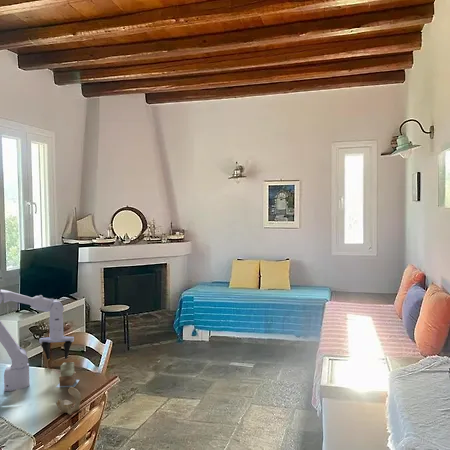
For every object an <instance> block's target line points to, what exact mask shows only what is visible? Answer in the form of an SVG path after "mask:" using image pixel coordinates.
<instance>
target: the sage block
mask: <svg viewBox="0 0 450 450" xmlns="http://www.w3.org/2000/svg"><path fill="white" fill-rule="evenodd" d="M74 372H75V362H74V361H73V362H72V361H70V362H63V363H62V364H61V365H60V375H61V377H62V376H72V375H73V374H74Z"/></svg>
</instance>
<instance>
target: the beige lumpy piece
mask: <svg viewBox="0 0 450 450" xmlns="http://www.w3.org/2000/svg"><path fill="white" fill-rule="evenodd" d="M67 391H68V394H69V395H70V396H73V398H74V401H75V403H74V402H72V401H71V400H68V399H64V400H62V398H59V399H58V400H57V402H56V406H57V407H58V409H59V410H60V411H61V413H67V414H68V415H69V416H71V415H72V414H73V413H74V412H77V411H78V410H80V407H81V405H80V404H81V399H82V398H81V397H82V393H81V392H80V391H79V390H78V388H75V387H68V389H67ZM71 406H72V407H71Z"/></svg>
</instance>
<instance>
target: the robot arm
mask: <svg viewBox="0 0 450 450" xmlns="http://www.w3.org/2000/svg"><path fill="white" fill-rule="evenodd" d="M2 302H3V303H4V304H6V303H8V302H16V303H19V304H24V305H29V306H30V307H31V309H33V310H36V311H40V312H44V313H48V312H49V320H48V321H49V323H48V324H49V337H40V338H39V340H38V341H39V344H41V346H40V347H41V348H42V350H43V352H44V353H45V357H46V360H50V359H51V343H63V348H64V349H63V350H64V360H66V359H68V357H69V351H70V348H71V346H72V344H73V343H74V342H75V336H66V335H65V336H64V316H63V315H64V314H63V313H64V310H65V308H64V305H63V303H62V302H61V301H60V300H57V299H55V298H53V297H52V298H48V297H44V296H43V295H42V294H39V295H35V296H33V297H31V296H28V295H24V294H21V293H18V292H13V291H11V290H7V289H0V305H1V304H2ZM0 344H1V345H2V346H3V348H4V349H5V351H6V352H7V354H8V357H10V359H11V364H10V366H7V367H6V368H5V370H4V372H3V373H4V374H3V383H4V385H3V386H4V389H3V391H4V392H7V391H9V392H11V391H12V392H13V391H17V390H19V389H20V390H21V389H25V388H28V387H30V385H31V384H30V383H31V381H30V363H29V357H28V353H27V351H26V349H24V348H22V347H20V345H19V344H18V343H17V342H16V340H15V339H14V338H13V336H12V334H11V333H10V332H9V330H8V329H7V327H6V326H5V324H4V323H3V322H2V320H1V319H0Z"/></svg>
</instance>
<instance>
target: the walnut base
mask: <svg viewBox="0 0 450 450" xmlns="http://www.w3.org/2000/svg"><path fill="white" fill-rule="evenodd" d="M58 378H59V379H58V380H59V383H60V386H73V385H74V383H75V382H76V380H77V372H76V371H74V374H73V375H72V376H62V377H61V374H60V375H59V376H58Z"/></svg>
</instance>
